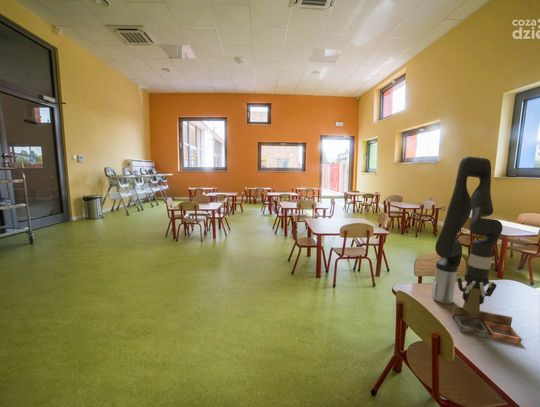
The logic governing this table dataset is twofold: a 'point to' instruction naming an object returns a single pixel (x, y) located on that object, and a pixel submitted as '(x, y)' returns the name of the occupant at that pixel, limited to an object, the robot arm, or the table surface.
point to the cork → (473, 301)
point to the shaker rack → (486, 325)
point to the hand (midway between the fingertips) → (472, 301)
